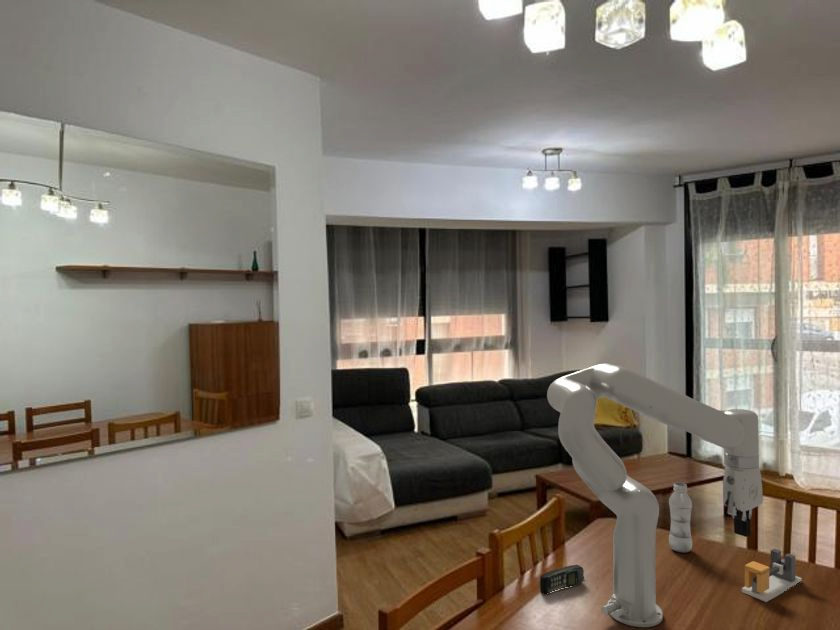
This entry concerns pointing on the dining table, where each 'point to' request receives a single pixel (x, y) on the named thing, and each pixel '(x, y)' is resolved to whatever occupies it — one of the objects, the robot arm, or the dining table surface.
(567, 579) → the mobile phone
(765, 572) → the orange bracket
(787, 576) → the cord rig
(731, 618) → the dining table surface
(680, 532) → the plastic bottle
